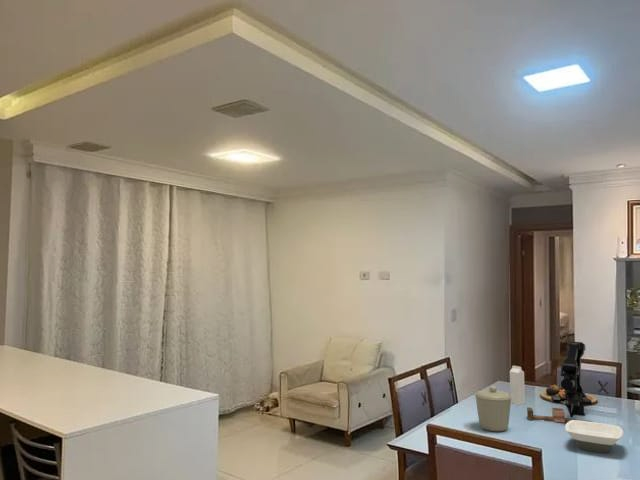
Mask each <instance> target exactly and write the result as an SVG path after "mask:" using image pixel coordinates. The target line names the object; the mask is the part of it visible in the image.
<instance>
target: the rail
mask: <svg viewBox="0 0 640 480" xmlns="http://www.w3.org/2000/svg"><path fill="white" fill-rule="evenodd" d="M526 410H527V411H526V412H527V414H526V415H527V421H540V420H544V422H552V421H554V417H553V416H549V415H537V414H536V415H534V410H533V408H532V407H528V406H527V408H526ZM569 421H571V419H570V418H569V417H565V422H566V423H565V424H567V422H569Z"/></svg>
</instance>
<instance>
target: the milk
mask: <svg viewBox="0 0 640 480" xmlns="http://www.w3.org/2000/svg"><path fill="white" fill-rule="evenodd" d="M525 390H526V389H525V371H524V370H523V369H522V367H521V366H518V365H512V366H511V369H510V370H509V395H511V396H512V399H511V405H512V404H513V405H517V406H522V405H525V404H526V395H525V394H526V393H525V392H526V391H525Z"/></svg>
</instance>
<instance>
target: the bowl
mask: <svg viewBox="0 0 640 480" xmlns="http://www.w3.org/2000/svg"><path fill="white" fill-rule="evenodd" d="M564 429H565V431H566V432H567V434H569V436H570V437H571V438H572V439H573V440H574V441H575V443H576V444H577V446H578V447H579V448H580V449H581V450H585V451H590V452H596V453H602V454H603V453H604V454H607V453H609V451H610V450H611V449H612V447H613V446H614V444H616V443H617V442H618V441H619V440H620V439H621V438H622V437H623V435H624V431H623V429H622V427H621V426H619V425H614V424H608V423H601V422H595V421H586V420H576V419H570V421H569V422H567V423H565V426H564Z"/></svg>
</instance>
